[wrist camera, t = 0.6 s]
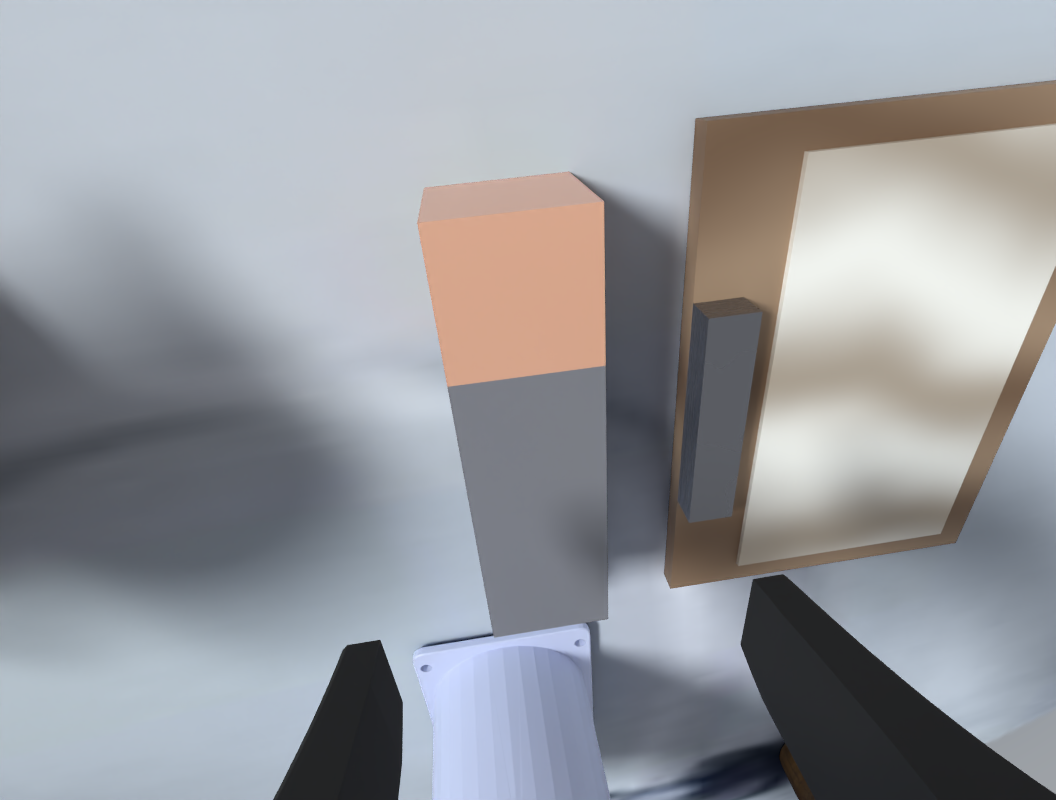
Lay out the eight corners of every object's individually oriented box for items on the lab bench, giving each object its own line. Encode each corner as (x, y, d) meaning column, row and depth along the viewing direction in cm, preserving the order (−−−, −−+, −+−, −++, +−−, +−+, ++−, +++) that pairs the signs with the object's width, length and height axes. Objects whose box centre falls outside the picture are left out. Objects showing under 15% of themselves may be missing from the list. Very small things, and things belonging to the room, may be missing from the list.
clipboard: (941, 529, 25) (977, 563, 23) (664, 574, 24) (680, 611, 23) (1138, 71, 16) (1222, 72, 14) (695, 118, 15) (727, 124, 13)
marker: (584, 556, 23) (608, 640, 20) (490, 571, 23) (497, 658, 20) (569, 171, 15) (604, 201, 12) (424, 187, 15) (417, 222, 12)
